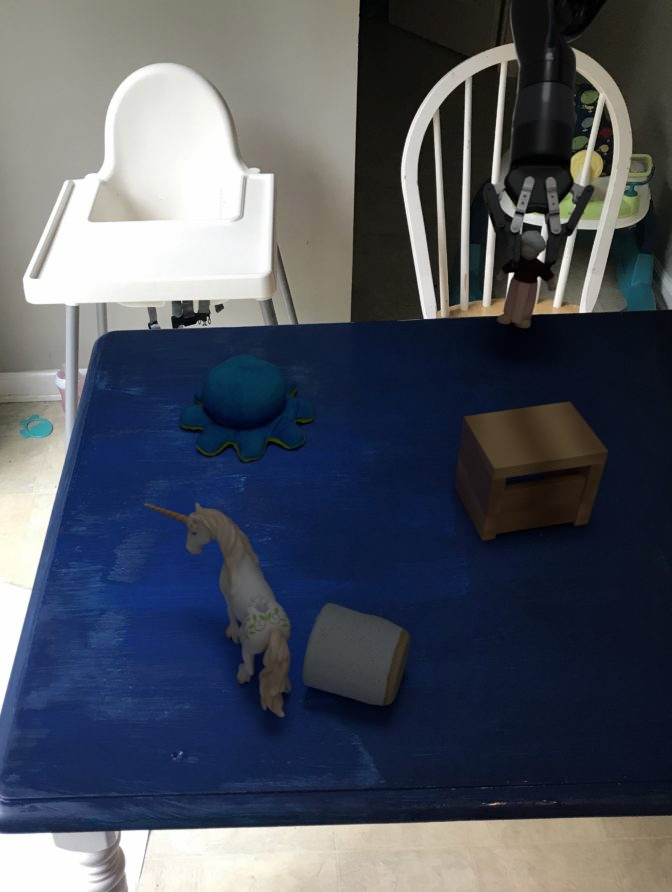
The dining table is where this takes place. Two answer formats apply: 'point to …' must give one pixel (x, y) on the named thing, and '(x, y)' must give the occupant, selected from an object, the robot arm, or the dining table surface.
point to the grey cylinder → (356, 655)
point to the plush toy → (246, 409)
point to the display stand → (528, 468)
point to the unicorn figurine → (245, 602)
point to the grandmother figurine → (525, 281)
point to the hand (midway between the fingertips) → (531, 266)
